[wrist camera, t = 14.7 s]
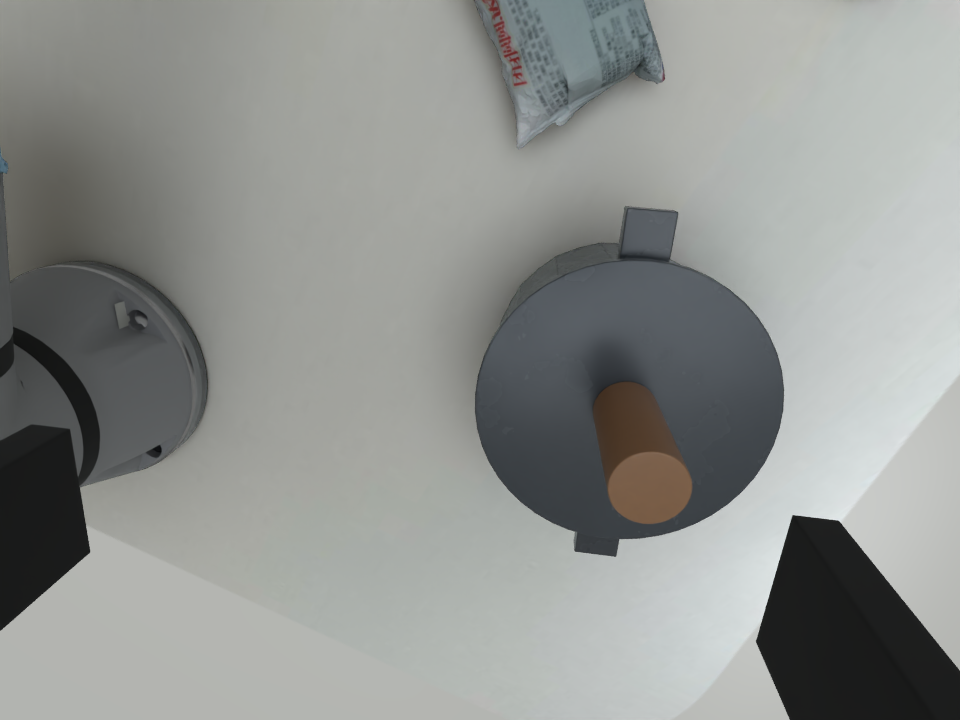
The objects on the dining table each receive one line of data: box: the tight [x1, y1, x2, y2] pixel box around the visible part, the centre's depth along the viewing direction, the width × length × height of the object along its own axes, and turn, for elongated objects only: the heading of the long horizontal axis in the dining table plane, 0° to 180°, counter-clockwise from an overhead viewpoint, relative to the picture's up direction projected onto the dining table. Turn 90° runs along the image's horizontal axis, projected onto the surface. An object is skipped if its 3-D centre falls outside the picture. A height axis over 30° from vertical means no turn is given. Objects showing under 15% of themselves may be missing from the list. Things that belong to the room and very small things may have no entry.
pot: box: [499, 206, 680, 557], centre depth 35 cm, size 14×19×9 cm
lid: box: [475, 258, 784, 539], centre depth 27 cm, size 15×15×9 cm
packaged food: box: [474, 0, 665, 149], centre depth 31 cm, size 9×12×5 cm
